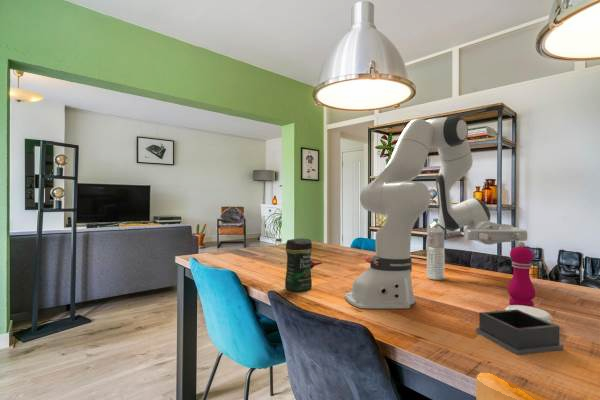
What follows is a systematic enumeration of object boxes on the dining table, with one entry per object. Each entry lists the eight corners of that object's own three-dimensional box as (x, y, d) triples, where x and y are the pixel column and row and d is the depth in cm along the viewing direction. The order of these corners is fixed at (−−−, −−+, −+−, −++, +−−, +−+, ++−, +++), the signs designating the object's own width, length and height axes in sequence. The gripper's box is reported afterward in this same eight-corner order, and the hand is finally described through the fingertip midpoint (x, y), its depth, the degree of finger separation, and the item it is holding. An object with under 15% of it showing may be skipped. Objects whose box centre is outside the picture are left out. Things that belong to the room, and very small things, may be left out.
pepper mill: (540, 310, 95) (540, 243, 95) (513, 309, 97) (513, 242, 96) (528, 303, 102) (528, 240, 102) (503, 301, 104) (503, 239, 103)
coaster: (497, 319, 89) (497, 307, 89) (520, 314, 93) (520, 302, 93) (536, 333, 79) (536, 319, 79) (559, 327, 84) (559, 314, 83)
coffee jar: (294, 293, 112) (294, 240, 112) (281, 288, 118) (281, 238, 118) (315, 289, 118) (315, 238, 118) (302, 284, 124) (302, 236, 124)
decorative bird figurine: (294, 270, 148) (294, 248, 148) (324, 276, 136) (324, 253, 136) (289, 271, 146) (289, 249, 146) (320, 278, 134) (320, 254, 134)
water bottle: (446, 280, 130) (446, 219, 130) (428, 280, 131) (429, 219, 131) (441, 276, 136) (442, 218, 136) (425, 276, 138) (425, 218, 137)
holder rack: (517, 354, 68) (517, 331, 68) (476, 331, 80) (476, 311, 80) (563, 349, 71) (563, 327, 71) (516, 328, 82) (516, 308, 82)
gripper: (458, 224, 127) (471, 228, 113) (515, 224, 123) (535, 228, 110) (459, 240, 127) (471, 246, 113) (515, 241, 123) (536, 246, 110)
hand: (503, 237), depth 111 cm, fingers open, 8 cm apart
